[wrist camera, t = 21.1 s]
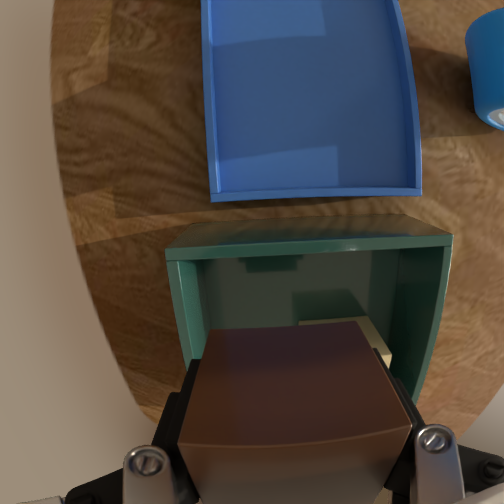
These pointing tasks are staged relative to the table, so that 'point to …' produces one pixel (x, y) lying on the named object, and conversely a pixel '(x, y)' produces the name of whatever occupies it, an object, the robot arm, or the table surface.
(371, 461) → the walnut block
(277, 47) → the blue shallow tray
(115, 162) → the table surface
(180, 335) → the green storage bin
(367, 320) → the cream block
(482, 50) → the alarm clock
